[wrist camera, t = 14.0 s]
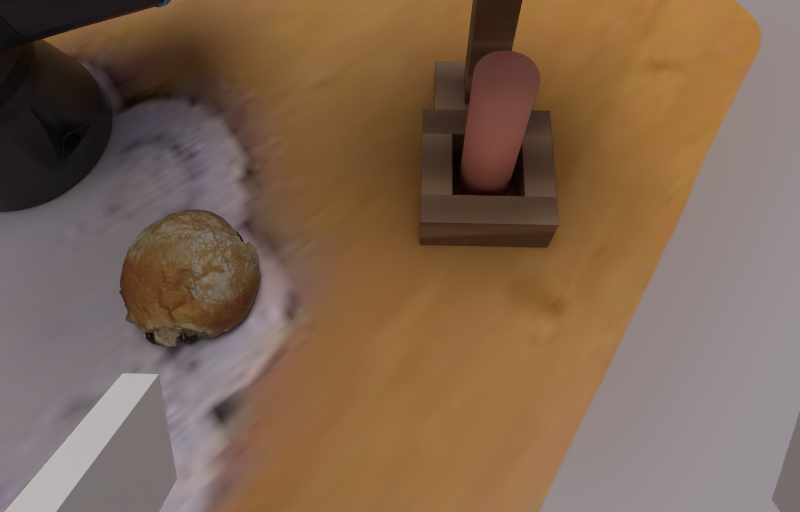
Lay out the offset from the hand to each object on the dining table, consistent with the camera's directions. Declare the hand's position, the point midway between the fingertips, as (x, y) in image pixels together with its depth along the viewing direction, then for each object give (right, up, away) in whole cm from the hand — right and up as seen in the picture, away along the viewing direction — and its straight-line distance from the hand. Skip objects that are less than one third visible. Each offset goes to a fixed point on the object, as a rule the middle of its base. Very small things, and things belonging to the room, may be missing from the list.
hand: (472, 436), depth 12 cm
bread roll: (-17, +1, +34) cm, 38 cm away
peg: (+5, +9, +36) cm, 37 cm away
